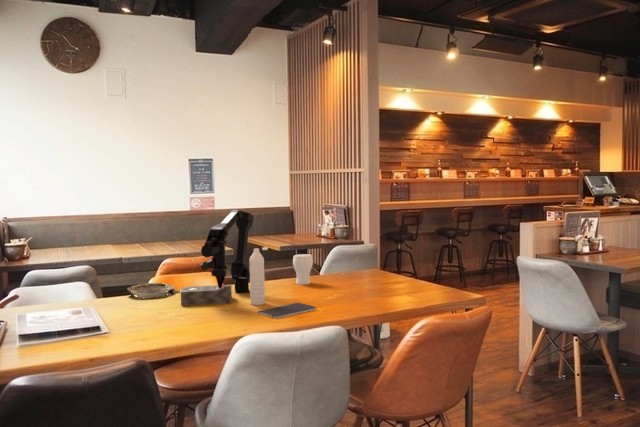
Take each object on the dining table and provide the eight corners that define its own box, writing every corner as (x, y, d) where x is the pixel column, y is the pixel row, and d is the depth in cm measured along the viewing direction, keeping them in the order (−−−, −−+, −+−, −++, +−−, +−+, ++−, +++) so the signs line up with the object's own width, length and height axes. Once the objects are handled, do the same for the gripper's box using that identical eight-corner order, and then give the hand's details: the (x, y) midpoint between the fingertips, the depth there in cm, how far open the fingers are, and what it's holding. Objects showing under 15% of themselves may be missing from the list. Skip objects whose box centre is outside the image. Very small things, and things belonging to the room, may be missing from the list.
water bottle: (254, 306, 233) (252, 249, 232) (248, 303, 239) (246, 248, 237) (272, 303, 238) (270, 248, 236) (265, 300, 244) (264, 246, 242)
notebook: (298, 305, 235) (258, 314, 221) (298, 302, 235) (258, 310, 221) (317, 310, 225) (276, 320, 212) (316, 307, 225) (276, 316, 211)
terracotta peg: (225, 298, 248) (225, 286, 248) (225, 301, 244) (224, 288, 244) (215, 299, 248) (215, 287, 247) (215, 301, 243) (214, 289, 243)
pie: (117, 302, 247) (117, 292, 247) (122, 292, 273) (122, 282, 273) (179, 298, 254) (179, 287, 254) (179, 288, 281) (178, 278, 280)
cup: (290, 284, 280) (289, 256, 279) (297, 281, 290) (296, 253, 289) (309, 285, 277) (309, 257, 276) (315, 281, 287) (315, 254, 286)
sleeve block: (231, 297, 253) (231, 284, 252) (231, 302, 241) (230, 289, 240) (184, 299, 250) (183, 286, 249) (181, 305, 238) (180, 292, 237)
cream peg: (199, 300, 247) (198, 287, 246) (198, 302, 242) (197, 289, 242) (189, 300, 246) (189, 288, 246) (188, 302, 242) (188, 290, 241)
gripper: (202, 252, 253) (203, 284, 254) (199, 257, 234) (200, 292, 235) (226, 251, 254) (227, 283, 255) (225, 257, 236) (226, 291, 237)
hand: (220, 287), depth 246 cm, fingers closed, pressing on terracotta peg
